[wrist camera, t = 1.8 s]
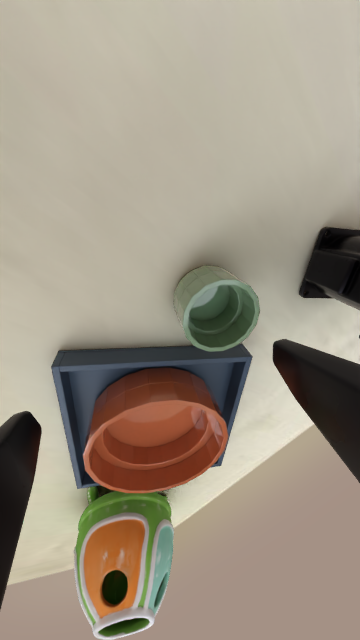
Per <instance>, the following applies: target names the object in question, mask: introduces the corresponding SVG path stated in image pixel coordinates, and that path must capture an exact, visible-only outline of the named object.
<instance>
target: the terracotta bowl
mask: <svg viewBox="0 0 360 640" xmlns="http://www.w3.org/2000/svg"><path fill="white" fill-rule="evenodd" d="M227 439H228V432H227V427H226V422H225V420H224V418H223V416H222V413H221V411H220V409H219V407H218V404H217V402H216V400H215V397H214V395H213V393H212V391H211V389H210V388H209V387H208V386H207V384H206V383H205V382H204V380H202V379H201V378H199V377H197V376H196V375H194V374H192V373H190V372H188V371H184V370H179V369H175V368H169V367H168V368H150V369H145V370H141V371H138V372H135V373H132V374H128V375H126V376H124V377H123V378H121V379H119V380H118V381H116V382H115V383H113V384H111V385H110V386H108V387H107V388H106V389H105V390H104V391H103V393H102V394H101V395H100V396H99V397H98V398H97V400H96V401H95V404H94V406H93V409H92V412H91V415H90V420H89V426H88V431H87V436H86V442H85V447H84V452H83V459H84V465H85V470H86V472H87V473H88V474H89V475H90V477H91V478H92V479H93V480H94V481H95V482H96V483H98V484H100V485H102V486H104V487H106V488H108V489H110V490H114V491H119V492H124V493H151V492H157V491H162V490H167V489H170V488H173V487H176V486H179V485H182V484H185V483H187V482H189V481H190V480H192V479H194V478H196V477H198V476H200V475H201V474H203V473H204V472H205V471H206V470H207V469H209V468H210V467H211V466H212V465H213V464H215V463H216V461H217V460H218V458H219V457H220V456H221V454H222V453H223V451H224V450H225V446H226V443H227Z"/></svg>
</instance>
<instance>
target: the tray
mask: <svg viewBox="0 0 360 640" xmlns="http://www.w3.org/2000/svg"><path fill="white" fill-rule="evenodd" d="M251 360H252V356H251V354H250V353H249V352H248V351H247V349H246V348H245V347H244V346H243V344H238V345H237V346H235V347H232V348H229V349H227V350H224V351H213V352H208V351H205V350H202V349H199V348H197V347H195V346H177V347H150V348H122V349H95V350H68V351H58V354H57V356H56V358H55V360H54V362H53V364H52V366H51V368H52V373H53V377H54V382H55V387H56V391H57V396H58V401H59V406H60V410H61V415H62V420H63V424H64V429H65V434H66V438H67V443H68V448H69V452H70V457H71V462H72V467H73V471H74V476H75V481H76V485H77V489H80V488H82V487H83V488H86V487H92V486H99V485H100V484H98V483H96V482H95V481H94V480H93V479H92V478H91V477H90V475H89V474H88V473H87V472H86V470H85V465H84V459H83V452H84V447H85V442H86V436H87V431H88V426H89V420H90V415H91V412H92V409H93V406H94V404H95V401H96V400H97V398H98V397H99V396H100V395H101V394H102V393H103V391H104V390H105V389H106V388H107V387H108V386H110V385H111V384H113V383H115V382H116V381H118V380H119V379H121V378H123V377H124V376H126V375H128V374H132V373H135V372H138V371H141V370H145V369H150V368H168V367H169V368H175V369H179V370H184V371H188V372H190V373H192V374H194V375H196V376H197V377H199V378H201V379H202V380H204V382H205V383H206V384H207V386H208V387H209V388H210V389H211V391H212V393H213V395H214V397H215V400H216V402H217V404H218V407H219V409H220V411H221V413H222V416H223V418H224V420H225V422H226V427H227V432H228V439H227V443H228V440H229V436H230V433H231V429H232V426H233V422H234V419H235V415H236V412H237V409H238V405H239V402H240V398H241V395H242V391H243V388H244V384H245V381H246V377H247V374H248V370H249V367H250V364H251ZM227 443H226V446H225V450H226V447H227ZM225 450H224V451H223V453H222V454H221V456H220V457H219V458H218V460H217V461H216V463H215V464H213V465H212V466H211V467H216V466H221V464H222V460H223V457H224V454H225Z"/></svg>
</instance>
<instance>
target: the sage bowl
mask: <svg viewBox="0 0 360 640" xmlns="http://www.w3.org/2000/svg"><path fill="white" fill-rule="evenodd" d="M173 304H174V308H175V311H176V314H177V316H178V319H179V321H180V323H181V326H182V328H183V331H184V333H185V335H186V338H187V339H188V340H189V341H190V342H191V343H192V344H193V345H194V346H195V347H197V348H199V349H202V350H205V351H208V352H213V351H224V350H227V349H229V348H232V347H235V346H237V345H238V344H239V343H241V342H242V341H243V340H244V339H246V338H247V337H248V336H249V334H250V333H251V332H252V330H253V329H254V327H255V326H256V324H257V320H258V316H259V313H260V308H259V300H258V297H257V295H256V294H255V292H254V291H253V289H252V288H251V287H250V286H249V285H248V284H246V283H245V282H243V281H242V280H240V279H239V278H237V277H236V276H234V275H233V274H232V273H230V272H229V271H227V270H225V269H223V268H221V267H219V266H202V267H199V268H197V269H194V270H192V271H190V272H189V273H188V274H187V275H186V276H184V277H183V278H182V279H181V280H180V282H179V284H178V286H177V288H176V290H175V293H174V303H173Z"/></svg>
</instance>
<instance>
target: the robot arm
mask: <svg viewBox="0 0 360 640" xmlns="http://www.w3.org/2000/svg"><path fill="white" fill-rule="evenodd" d="M326 232H327V234H326ZM325 234H326V235H325ZM305 291H306V292H305ZM304 292H305V293H304ZM299 295H300V296H301V297H303V298H334V299H336V300H339V301H341V302H343V303H345V304H347V305H349V306H352V307H354V308H356V309H358V310H360V230H351V229H340V228H330V227H325V228H323V229H322V230H321V232H320V234H319V237H318V240H317V242H316V245H315V248H314V251H313V254H312V257H311V260H310V263H309V265H308V268H307V271H306V274H305V277H304V280H303V283H302V285H301V288H300V291H299ZM359 338H360V335H359ZM273 362H274V364H275V366H276V368H277V369H278V371H279V373H280V374H281V376H282V378H283V379H284V381H285V382H286V384H287V386H288V387H289V389H290V391H291V392H292V394H293V395H294V397H295V399H296V400H297V401H298V403H299V404H300V405H301V407H302V408H303V409H304V411H305V412H306V413H307V415H308V416H309V417H310V419H311V420H312V421H313V422H314V424H315V425H316V426H317V428H318V429H319V430H320V431H321V433H322V434H323V436H324V437H325V438H326V439H327V441H328V442H329V443H330V445H331V446H332V447H333V449H334V450H335V451H336V452H337V454H338V455H339V456H340V458H341V459H342V460H343V462H344V463H345V464H346V465H347V467H348V468H349V470H350V471H351V472H352V473H353V475H354V476H355V477H356V479H357V480H358V481H359V483H360V364H357V363H354V362H351V361H348V360H345V359H342V358H339V357H336V356H334V355H331V354H328V353H325V352H322V351H319V350H316V349H313V348H310V347H307V346H304V345H301V344H298V343H295V342H293V341H290V340H287V339H282V340H278V341H275V342H274V344H273ZM40 439H41V426H40V424H39V423H38V422H37V420H36V419H35V418H34V416H33V415H32V414H31V413H30V412H28V411H24V412H20V413H17V414H14V415H13V416H12V417H11V418H10V419H8V420H7V421H6V422H5V423H4V424H3V425H2V426H1V427H0V609H1V605H2V601H3V598H4V594H5V590H6V586H7V582H8V578H9V574H10V570H11V567H12V563H13V559H14V555H15V551H16V547H17V543H18V540H19V536H20V532H21V528H22V524H23V520H24V516H25V512H26V509H27V505H28V501H29V497H30V493H31V489H32V485H33V481H34V476H35V471H36V464H37V458H38V451H39V445H40Z"/></svg>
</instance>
